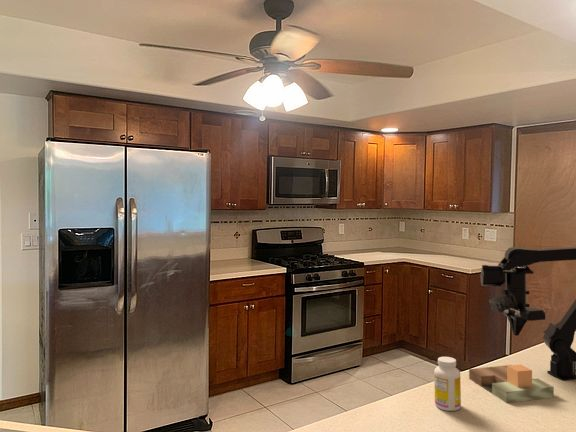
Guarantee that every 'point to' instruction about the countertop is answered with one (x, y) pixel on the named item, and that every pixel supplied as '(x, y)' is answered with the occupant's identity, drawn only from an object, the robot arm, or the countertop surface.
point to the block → (519, 375)
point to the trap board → (509, 385)
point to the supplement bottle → (447, 384)
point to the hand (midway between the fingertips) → (516, 335)
